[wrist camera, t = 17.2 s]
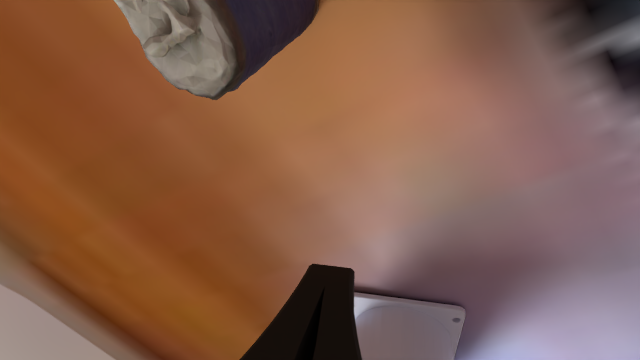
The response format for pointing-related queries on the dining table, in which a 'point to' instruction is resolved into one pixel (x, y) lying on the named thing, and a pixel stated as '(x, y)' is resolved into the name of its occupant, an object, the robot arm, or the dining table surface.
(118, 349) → the dining table surface
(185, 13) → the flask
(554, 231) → the dining table surface
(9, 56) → the dining table surface
